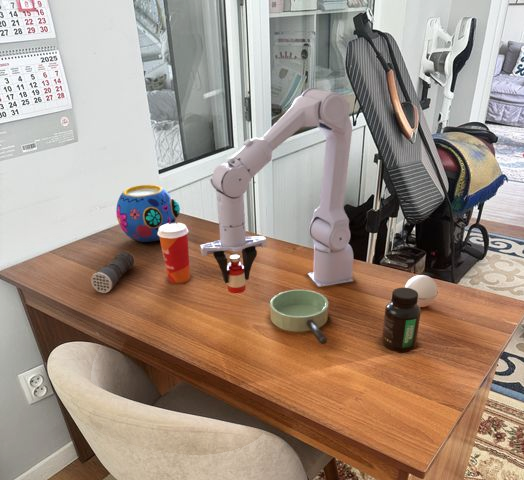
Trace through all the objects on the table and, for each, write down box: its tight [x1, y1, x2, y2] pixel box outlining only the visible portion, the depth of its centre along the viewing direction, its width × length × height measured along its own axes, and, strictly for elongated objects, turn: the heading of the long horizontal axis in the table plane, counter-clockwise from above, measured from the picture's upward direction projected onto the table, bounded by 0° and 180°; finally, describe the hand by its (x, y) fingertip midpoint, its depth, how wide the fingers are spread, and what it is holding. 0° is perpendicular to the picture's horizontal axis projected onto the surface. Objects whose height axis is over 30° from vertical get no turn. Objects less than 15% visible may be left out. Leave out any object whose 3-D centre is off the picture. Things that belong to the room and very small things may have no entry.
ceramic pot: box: [115, 184, 181, 243], centre depth 155 cm, size 18×18×15 cm
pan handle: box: [307, 320, 328, 345], centre depth 107 cm, size 9×2×2 cm, turn 17°
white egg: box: [404, 274, 449, 308], centre depth 117 cm, size 10×7×7 cm
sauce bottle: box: [226, 254, 246, 294], centre depth 118 cm, size 4×4×8 cm
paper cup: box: [158, 222, 191, 284], centre depth 132 cm, size 8×8×14 cm
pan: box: [269, 289, 330, 333], centre depth 115 cm, size 13×13×4 cm
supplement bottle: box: [381, 286, 422, 354], centre depth 103 cm, size 7×7×12 cm
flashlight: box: [90, 250, 135, 294], centre depth 135 cm, size 15×5×5 cm, turn 168°
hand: (235, 279), depth 119 cm, fingers closed on sauce bottle, 4 cm apart
